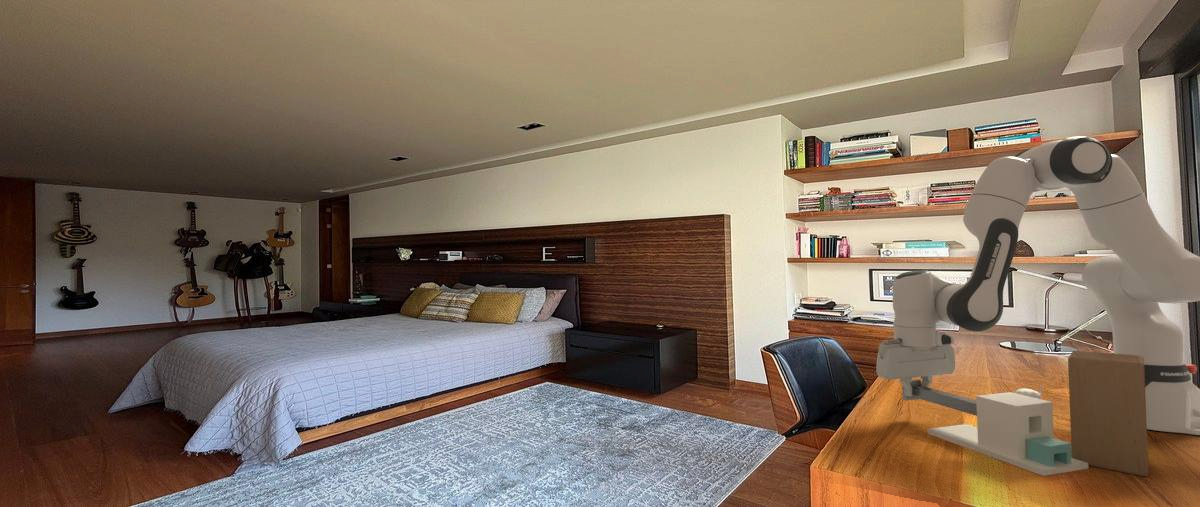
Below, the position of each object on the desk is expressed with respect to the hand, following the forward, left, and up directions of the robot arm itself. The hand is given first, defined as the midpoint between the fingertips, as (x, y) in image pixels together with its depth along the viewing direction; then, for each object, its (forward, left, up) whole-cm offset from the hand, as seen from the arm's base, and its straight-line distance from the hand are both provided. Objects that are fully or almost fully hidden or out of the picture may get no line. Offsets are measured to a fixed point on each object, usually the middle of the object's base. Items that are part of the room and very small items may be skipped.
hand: (916, 394), depth 125 cm
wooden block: (-12, +31, -6) cm, 34 cm away
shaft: (0, +11, -1) cm, 11 cm away
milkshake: (-18, +13, -6) cm, 23 cm away
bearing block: (0, +20, -6) cm, 21 cm away
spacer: (0, +29, -3) cm, 29 cm away
